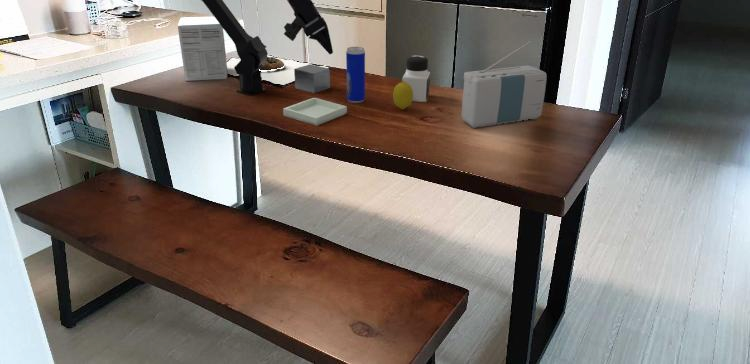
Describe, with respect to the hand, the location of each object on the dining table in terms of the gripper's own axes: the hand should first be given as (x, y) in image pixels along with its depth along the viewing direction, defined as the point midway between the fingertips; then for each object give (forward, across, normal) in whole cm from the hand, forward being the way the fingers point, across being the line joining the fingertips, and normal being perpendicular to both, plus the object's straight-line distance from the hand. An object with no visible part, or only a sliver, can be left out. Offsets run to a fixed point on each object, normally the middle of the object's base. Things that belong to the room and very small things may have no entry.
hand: (331, 52), depth 160 cm
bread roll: (-4, -34, -22) cm, 41 cm away
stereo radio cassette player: (+37, +21, +29) cm, 51 cm away
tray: (+11, +13, -12) cm, 21 cm away
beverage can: (+15, +2, -1) cm, 15 cm away
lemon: (+23, +10, +9) cm, 27 cm away
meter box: (+7, -11, -11) cm, 17 cm away
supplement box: (-13, -28, -39) cm, 50 cm away
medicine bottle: (+24, 0, +14) cm, 28 cm away
